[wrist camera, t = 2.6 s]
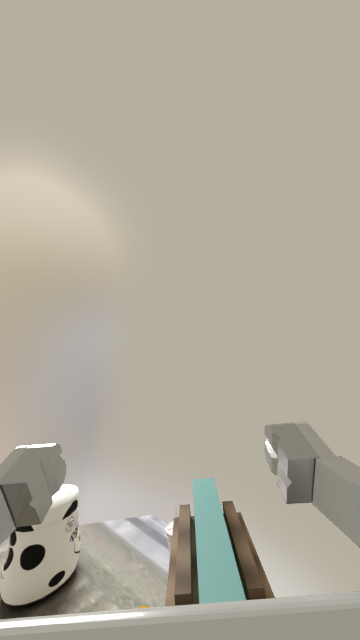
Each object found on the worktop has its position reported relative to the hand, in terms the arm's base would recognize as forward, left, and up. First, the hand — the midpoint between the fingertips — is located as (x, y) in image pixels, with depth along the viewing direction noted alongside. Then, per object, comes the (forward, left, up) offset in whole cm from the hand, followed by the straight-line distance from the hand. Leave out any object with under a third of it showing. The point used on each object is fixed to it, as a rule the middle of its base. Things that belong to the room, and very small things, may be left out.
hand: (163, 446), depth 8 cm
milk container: (+13, +70, -43) cm, 84 cm away
